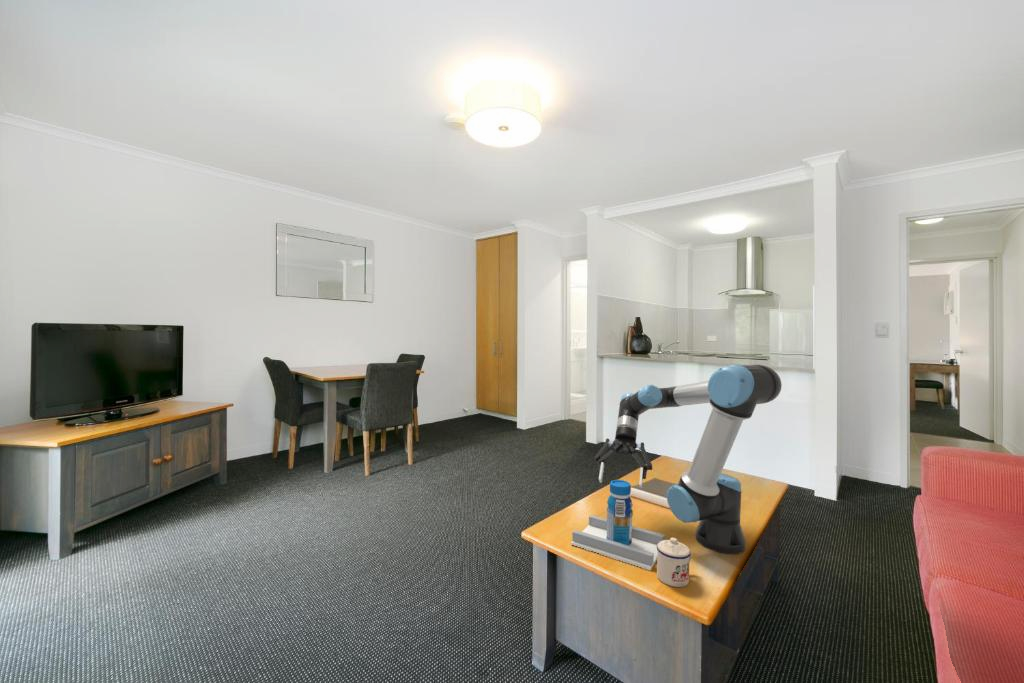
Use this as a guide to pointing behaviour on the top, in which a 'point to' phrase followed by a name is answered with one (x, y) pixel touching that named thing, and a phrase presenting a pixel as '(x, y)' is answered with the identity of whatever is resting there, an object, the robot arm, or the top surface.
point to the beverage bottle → (619, 513)
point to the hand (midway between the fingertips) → (619, 483)
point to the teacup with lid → (673, 562)
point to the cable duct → (636, 554)
